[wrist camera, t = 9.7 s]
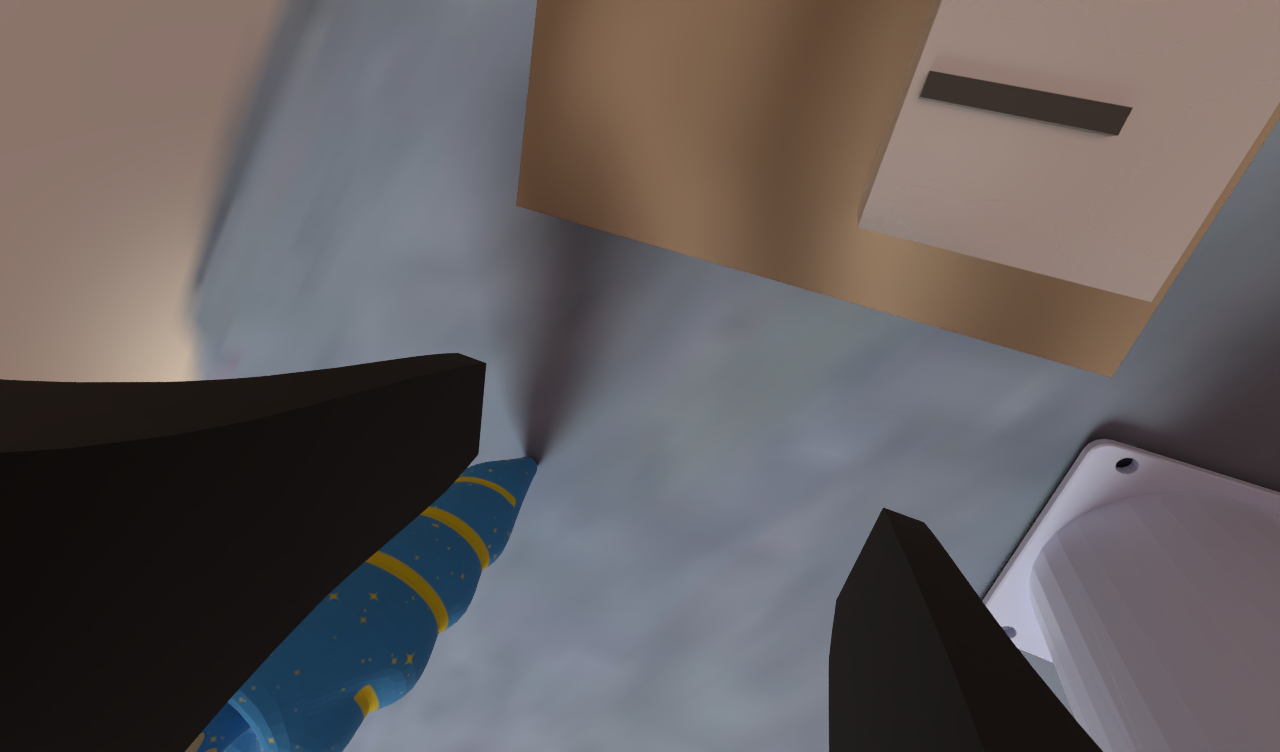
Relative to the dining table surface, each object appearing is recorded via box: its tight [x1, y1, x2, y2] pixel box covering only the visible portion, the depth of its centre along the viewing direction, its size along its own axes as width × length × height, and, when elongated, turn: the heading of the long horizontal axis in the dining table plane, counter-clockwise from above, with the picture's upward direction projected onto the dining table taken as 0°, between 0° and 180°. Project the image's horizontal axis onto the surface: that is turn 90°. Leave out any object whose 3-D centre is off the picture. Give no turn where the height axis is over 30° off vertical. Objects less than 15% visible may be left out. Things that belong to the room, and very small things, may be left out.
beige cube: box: [857, 0, 1280, 302], centre depth 11 cm, size 5×5×5 cm
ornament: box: [185, 457, 537, 752], centre depth 18 cm, size 5×5×15 cm
